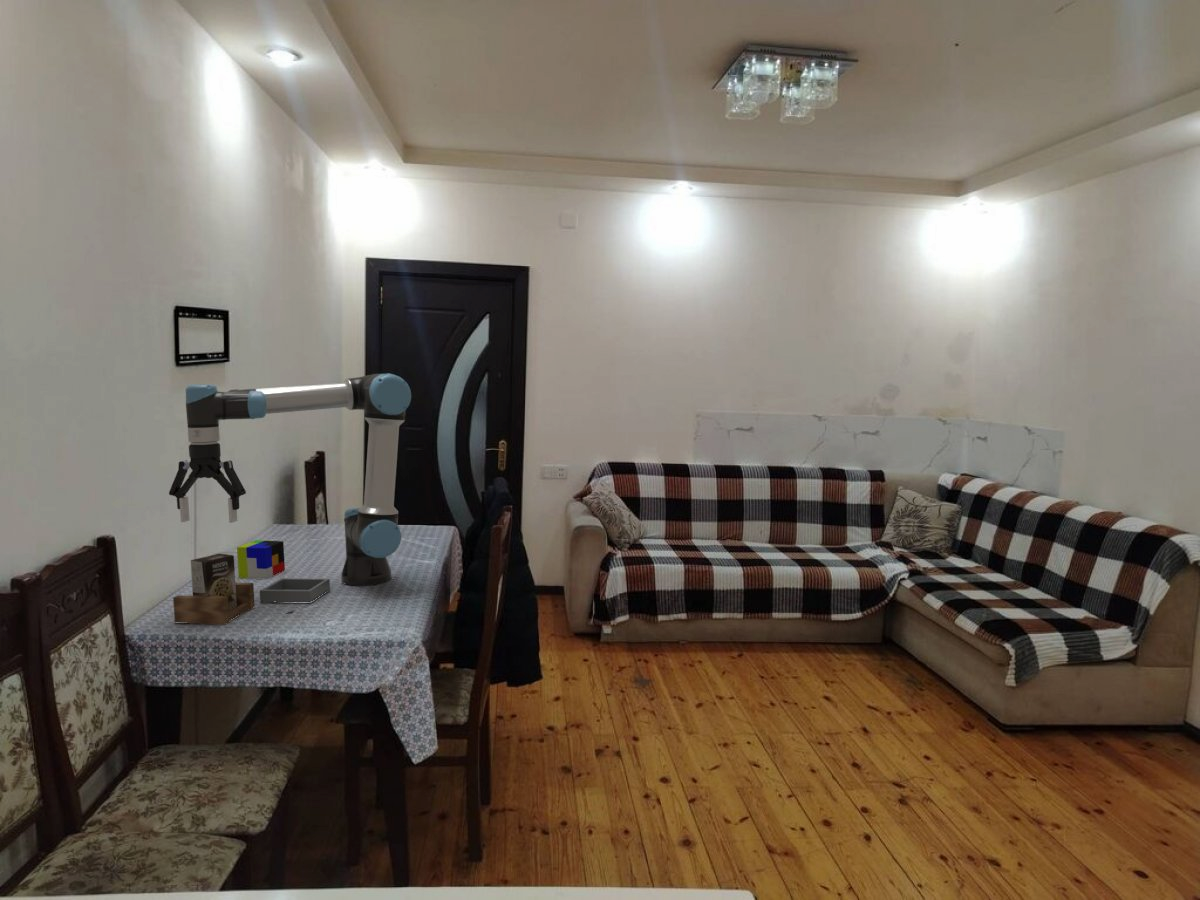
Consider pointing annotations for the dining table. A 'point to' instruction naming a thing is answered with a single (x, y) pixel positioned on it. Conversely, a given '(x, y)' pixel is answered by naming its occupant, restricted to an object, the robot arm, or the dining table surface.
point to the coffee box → (214, 577)
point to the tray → (294, 590)
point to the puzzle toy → (260, 559)
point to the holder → (213, 606)
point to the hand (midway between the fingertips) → (209, 521)
